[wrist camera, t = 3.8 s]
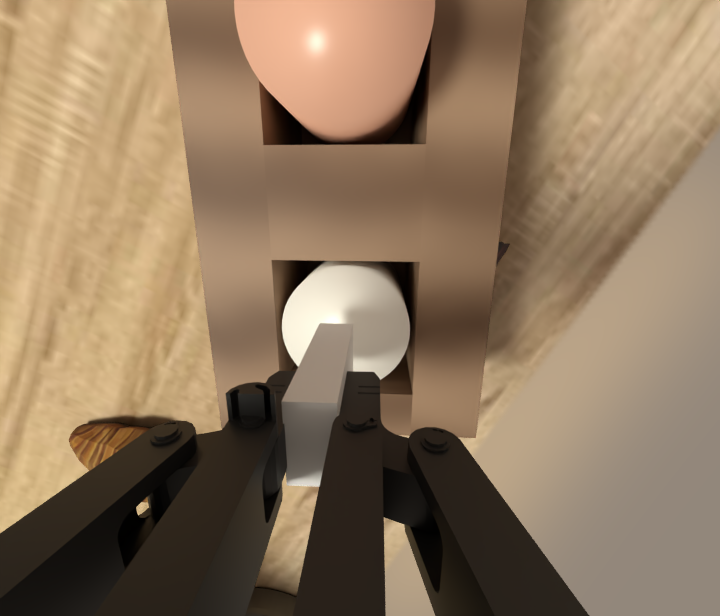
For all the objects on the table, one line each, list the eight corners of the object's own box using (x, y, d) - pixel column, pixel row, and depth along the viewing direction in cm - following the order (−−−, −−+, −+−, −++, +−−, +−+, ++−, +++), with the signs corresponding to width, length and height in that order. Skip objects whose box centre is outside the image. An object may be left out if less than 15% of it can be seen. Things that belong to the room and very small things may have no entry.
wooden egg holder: (445, 363, 27) (475, 437, 19) (270, 359, 28) (221, 428, 20) (476, -9, 20) (546, -162, 12) (241, -3, 21) (147, -143, 13)
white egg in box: (399, 334, 26) (407, 390, 18) (313, 332, 26) (285, 386, 18) (402, 247, 24) (412, 268, 16) (309, 246, 24) (277, 266, 17)
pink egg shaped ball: (409, 152, 19) (428, 120, 12) (296, 153, 20) (243, 122, 12) (415, 15, 18) (442, -129, 10) (290, 18, 18) (223, -119, 10)
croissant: (238, 438, 31) (212, 482, 26) (222, 495, 33) (196, 545, 28) (88, 392, 30) (34, 427, 26) (82, 453, 32) (31, 496, 28)
